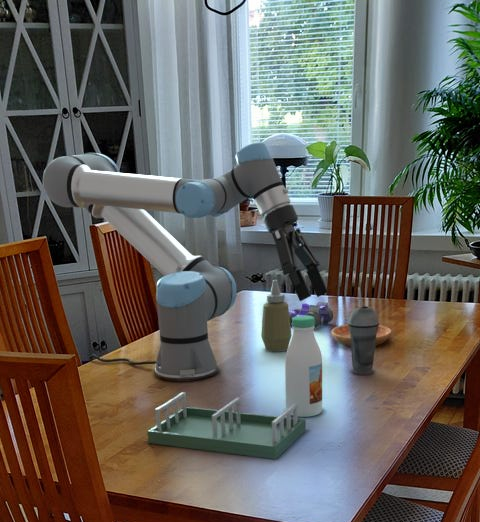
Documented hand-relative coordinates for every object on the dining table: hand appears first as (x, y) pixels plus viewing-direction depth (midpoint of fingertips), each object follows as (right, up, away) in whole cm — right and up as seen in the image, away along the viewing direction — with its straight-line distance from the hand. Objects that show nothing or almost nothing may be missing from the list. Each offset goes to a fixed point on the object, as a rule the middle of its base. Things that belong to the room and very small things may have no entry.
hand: (314, 296), depth 203 cm
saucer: (+15, -4, +32) cm, 36 cm away
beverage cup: (+12, -17, +6) cm, 22 cm away
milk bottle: (-4, -29, -19) cm, 35 cm away
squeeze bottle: (-8, -7, +28) cm, 30 cm away
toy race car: (+1, +5, +52) cm, 52 cm away
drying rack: (-20, -36, -31) cm, 51 cm away
